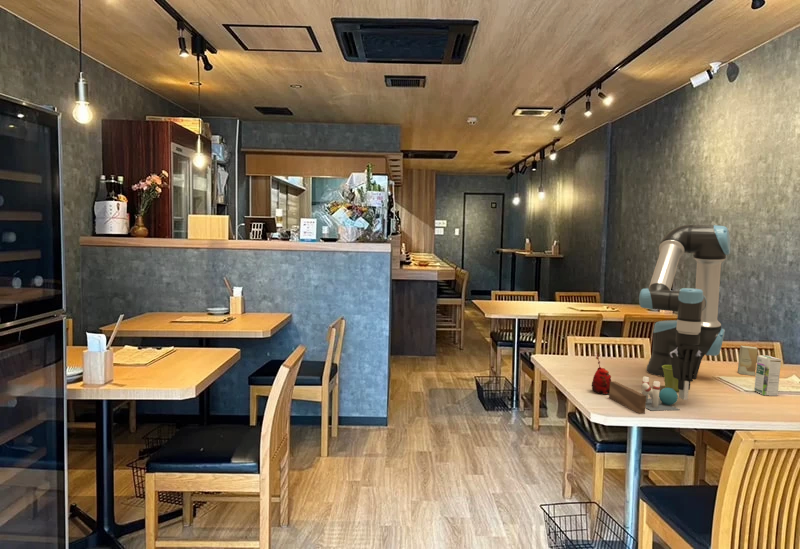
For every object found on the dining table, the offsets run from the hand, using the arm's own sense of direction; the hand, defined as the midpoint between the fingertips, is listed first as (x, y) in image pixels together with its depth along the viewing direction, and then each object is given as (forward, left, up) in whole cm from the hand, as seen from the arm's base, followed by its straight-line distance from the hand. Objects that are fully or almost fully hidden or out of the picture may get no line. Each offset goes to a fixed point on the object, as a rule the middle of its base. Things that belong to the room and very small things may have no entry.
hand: (683, 398), depth 197 cm
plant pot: (-10, -18, -2) cm, 21 cm away
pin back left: (+13, +3, -2) cm, 14 cm away
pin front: (+9, 0, -1) cm, 9 cm away
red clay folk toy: (+22, -16, -2) cm, 27 cm away
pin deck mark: (+12, 0, -2) cm, 12 cm away
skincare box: (-63, -40, -2) cm, 75 cm away
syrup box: (-44, -10, -2) cm, 45 cm away
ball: (+6, 0, +1) cm, 6 cm away
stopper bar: (+22, 0, -2) cm, 22 cm away
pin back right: (+13, -3, -2) cm, 13 cm away
